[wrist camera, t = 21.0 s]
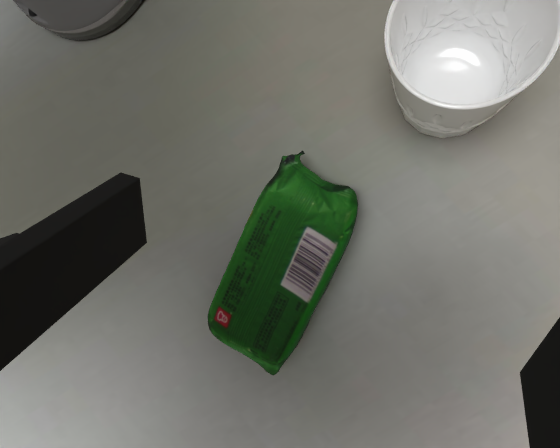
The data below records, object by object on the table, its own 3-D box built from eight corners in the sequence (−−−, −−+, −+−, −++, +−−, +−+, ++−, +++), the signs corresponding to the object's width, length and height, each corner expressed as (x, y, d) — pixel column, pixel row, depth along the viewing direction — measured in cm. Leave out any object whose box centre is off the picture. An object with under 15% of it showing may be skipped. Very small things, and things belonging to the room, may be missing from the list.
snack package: (378, 193, 30) (373, 187, 25) (288, 371, 32) (268, 398, 27) (295, 155, 32) (276, 142, 27) (215, 326, 34) (183, 343, 29)
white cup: (429, 168, 29) (443, 141, 20) (368, 82, 30) (354, 17, 21) (533, 101, 27) (606, 35, 18) (464, 12, 28) (497, -95, 19)
